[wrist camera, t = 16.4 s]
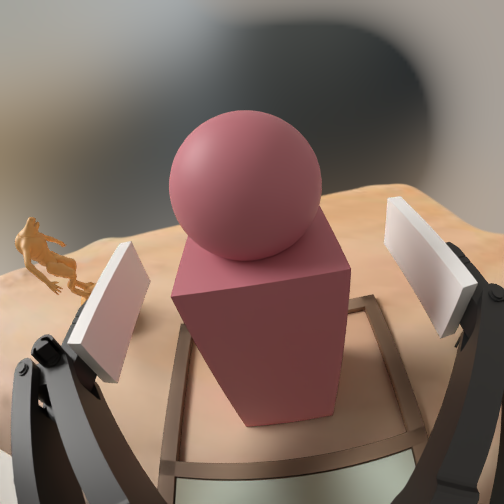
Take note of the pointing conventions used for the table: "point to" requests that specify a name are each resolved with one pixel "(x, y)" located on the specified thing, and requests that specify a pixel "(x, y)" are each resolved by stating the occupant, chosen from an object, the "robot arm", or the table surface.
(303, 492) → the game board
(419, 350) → the table surface
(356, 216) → the table surface
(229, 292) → the pawn
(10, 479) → the die
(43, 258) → the figurine
